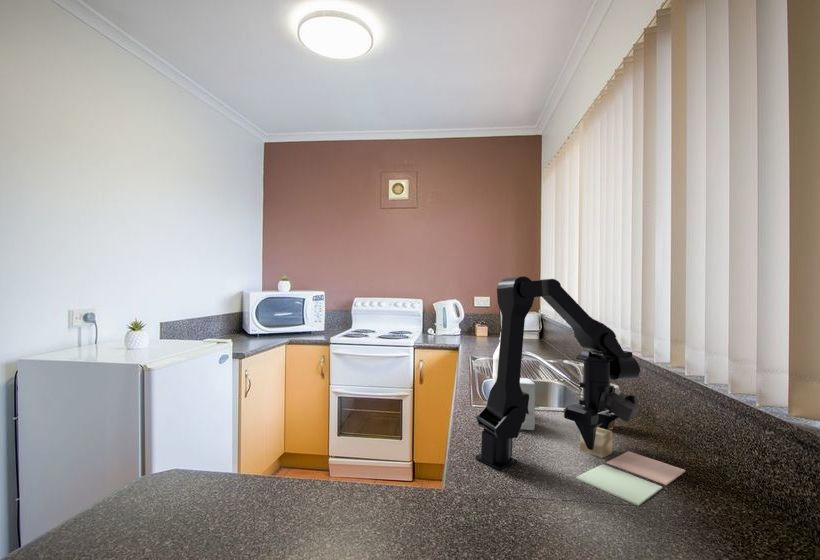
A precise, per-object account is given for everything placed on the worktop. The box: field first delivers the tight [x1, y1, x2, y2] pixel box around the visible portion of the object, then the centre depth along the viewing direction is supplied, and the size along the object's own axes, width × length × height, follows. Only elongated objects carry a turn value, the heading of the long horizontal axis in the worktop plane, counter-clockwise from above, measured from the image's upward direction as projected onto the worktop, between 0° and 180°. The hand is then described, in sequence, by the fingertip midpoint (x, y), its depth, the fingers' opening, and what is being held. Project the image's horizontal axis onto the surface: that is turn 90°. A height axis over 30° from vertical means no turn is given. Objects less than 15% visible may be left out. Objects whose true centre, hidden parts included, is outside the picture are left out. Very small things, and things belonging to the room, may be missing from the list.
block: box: [579, 427, 613, 459], centre depth 84 cm, size 5×5×5 cm
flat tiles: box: [575, 450, 686, 507], centre depth 72 cm, size 24×11×1 cm, turn 127°
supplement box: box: [520, 377, 536, 431], centre depth 100 cm, size 7×7×13 cm
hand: (595, 447), depth 84 cm, fingers closed on block, 5 cm apart
